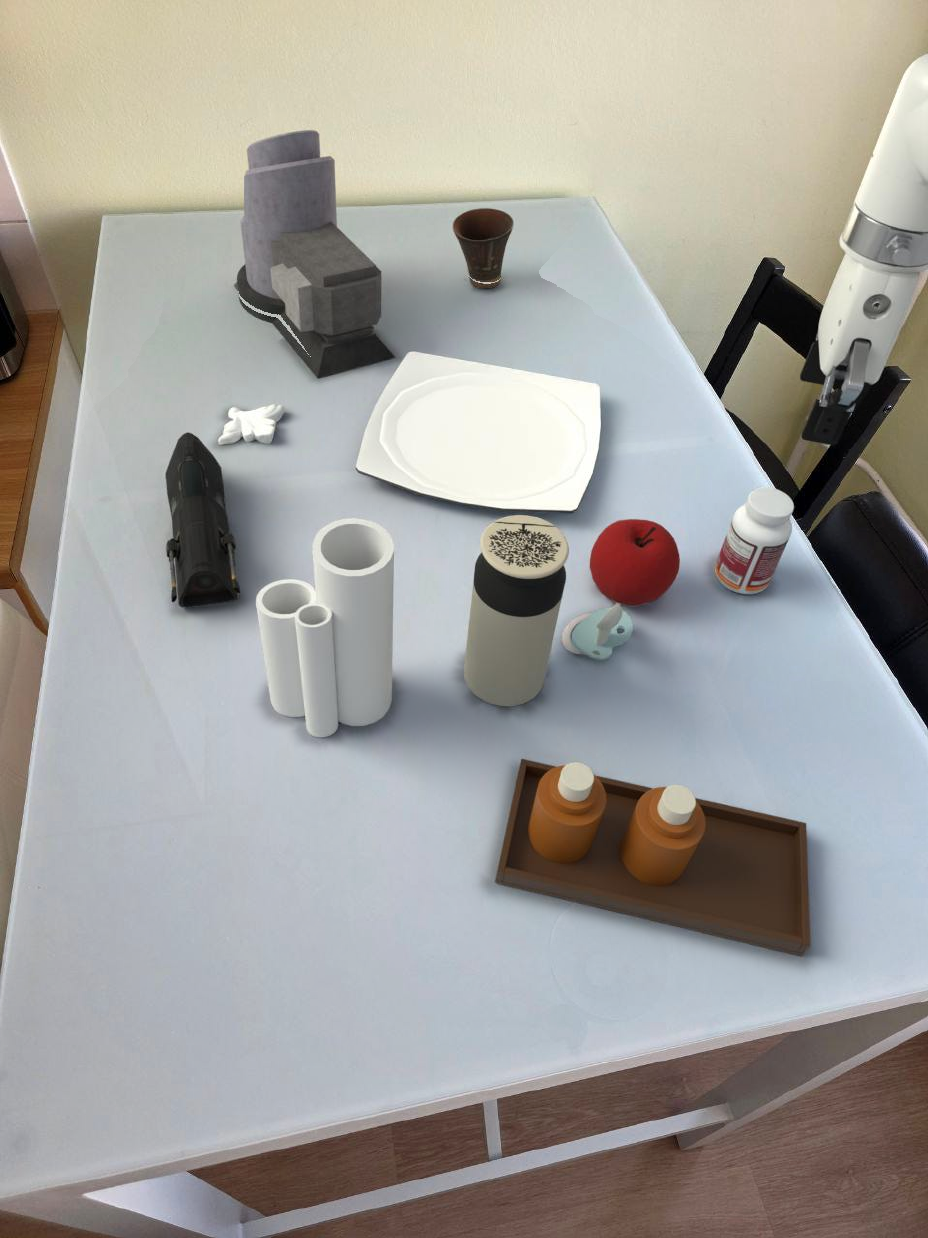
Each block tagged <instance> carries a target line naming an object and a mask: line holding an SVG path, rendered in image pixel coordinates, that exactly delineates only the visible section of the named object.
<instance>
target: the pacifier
mask: <svg viewBox="0 0 928 1238" xmlns="http://www.w3.org/2000/svg"><path fill="white" fill-rule="evenodd" d="M618 629H623V630H624V631H623V632H621V633H619V632H618ZM633 629H634V625H633V620H632V617H631V616H630V614H628V613H627V612H626V611H624V610H623V607H622V606H621V604H619V603H615V604H614V605H613V606H612V607H610V608H603V609H600V610H597V611H595V612H589V613H584V614H581V615H579V616H576V617H574V618H573V619H572V620H571V621H569V623H567V625H566V626H565V627H564V629H563V630H562V634H561V644H562V646H563V647H564V649H565V650H566V651H567V652H570V653H572V654H575V655H585V656H587V657H589V658H592V659H594V660H598V661H606V660H608V659H609V658H610V657H611V656H612V653H613V649H614V648H617V647H620V646H622V645H624V644H625V643H626V642H627V641H628V640H629V639H630V637H631V635H632V634H633Z"/></svg>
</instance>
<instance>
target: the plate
mask: <svg viewBox="0 0 928 1238" xmlns="http://www.w3.org/2000/svg"><path fill="white" fill-rule="evenodd" d="M601 420H602V419H601V387H600V386H599V384H597V383H594V382H589V381H583V380H577V379H572V378H567V377H560V376H555V375H549V374H545V373H540V372H539V373H538V372H533V371H529V370H523V369H516V368H513V367H512V368H511V367H505V366H501V365H500V366H499V365H495V364H488V363H482V362H476V361H471V360H465V359H459V358H453V357H449V356H448V357H447V356H443V355H442V356H441V355H437V354H430V353H424V352H418V351H413V350H412V351H409V352H407V353H406V354H405V357H404V358H403V359H402V360H401V362H400V364H399V366H398V367H397V368H396V370H395V372H394V373H393V375H392V376H391V377H390V380H389V381H388V382H387V384H386V386H385V387H384V389H383V391H382V392H381V395H380V396H379V397H378V400H377V402H376V404H375V405H374V407H373V410H372V413H371V415H370V417H369V419H368V422H367V424H366V427H365V430H364V433H363V436H362V439H361V444H360V448H359V451H358V456H357V460H356V464H355V468H354V470H355V471H356V472H357V473H358V474H360V475H363V476H366V477H368V478H371V479H374V480H376V481H379V482H382V483H384V484H388V485H391V486H394V487H396V488H399V489H402V490H405V491H408V492H410V493H412V494H414V495H415V494H416V495H418V496H421V497H425V498H430V499H435V500H439V501H443V502H447V503H451V504H455V505H460V506H465V507H472V508H479V509H485V510H486V509H487V510H494V511H499V512H520V513H545V514H546V513H547V514H548V513H549V514H573V513H575V512H577V511H578V509H579V507H580V504H581V502H582V500H583V497H584V495H585V493H586V491H587V488H588V486H589V483H590V482H591V479H592V476H593V474H594V473H593V472H594V469H595V465H596V463H597V457H598V454H599V447H600V438H601V437H600V436H601V427H602V422H601Z"/></svg>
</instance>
